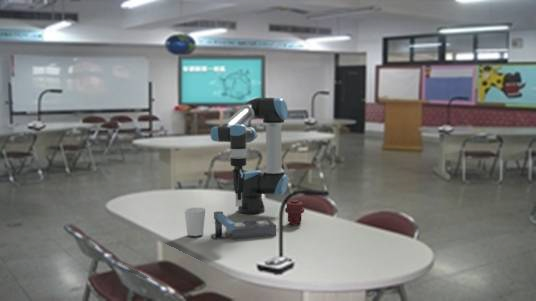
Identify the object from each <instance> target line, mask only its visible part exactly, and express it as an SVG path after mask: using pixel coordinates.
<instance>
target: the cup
mask: <svg viewBox="0 0 536 301" xmlns="http://www.w3.org/2000/svg"><path fill="white" fill-rule="evenodd" d="M205 217H206V208H203V207H198V206H197V207H189V208H186V209H184V218H185V225H186V232H187V235H188V237H190V238H192V237H193V238H198V237H203V235H204V230H205V219H206V218H205Z"/></svg>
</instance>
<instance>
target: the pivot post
mask: <svg viewBox="0 0 536 301" xmlns="http://www.w3.org/2000/svg"><path fill="white" fill-rule="evenodd" d="M214 224H215V225H214V226H215V228H214V231H215V232H214V233H213V234H210V236H211V238H212V239H213V240H220V239H221V240H224V239H227V235H226V233H225V234H224V232H223V225H222V224H221V223H220V222H219V221H218V220H215V219H214Z"/></svg>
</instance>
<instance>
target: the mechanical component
mask: <svg viewBox="0 0 536 301" xmlns="http://www.w3.org/2000/svg"><path fill="white" fill-rule="evenodd" d="M303 206H304V203H303V202H302V201H299V200H298V199H292V200H290V201H288V202H286V207H285V209H284V212H285V213H286V214H287V222H288V223H289V224H291V225H292V226H297V225H300V224H301V223H302V214H303V213H305V208H304V207H303Z"/></svg>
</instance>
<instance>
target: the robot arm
mask: <svg viewBox="0 0 536 301" xmlns="http://www.w3.org/2000/svg"><path fill="white" fill-rule="evenodd" d="M288 112H289V111H288V105H287V102H286V100H284V98H279V97H269V98H267V97H257V98H256V97H255V98H253V99H250V100H248V101H246V102H244V103H243V104H241V106H239V107H238V110H237V111H236V112H235V113H234V114H233V115H232V116H230V117H229V118H228V119H227V120H226V121H225V122H224V123H223V124H221V125H220V126H217V125H216V126H213V127H212V128H211V129H210V133H209V134H210V139H211V141H213V142H217V143H222V142H223V143H230V150H229V154H230V166H232V167H233V169H232V176H233V190H234V191H235V206H236V207H237V209H238V212H239V213H240V214H244V215H255V214H262V213H264V212H265V210H266V209H265V208H266V207H265V204H264V202H263V198H262V197H263V196H262V195H271V196H272V195H273V196H283V195H284V194H285V193H286V191H287V188H288V183H289V177H288V175H287V174H286V173H285V170H284V169H283V168H282V164H283V162H282V159H283V158H282V126H283V124H284V123H285V120H287V119H288V115H289V114H288ZM252 120H262V123H263V124H264V126H265V159H266V160H265V162H266V165H265V169H264V170H263V173H262V170H261V169H260V170H259V169H257V170H256V169H255V170H250V171H245V172H244V169H243V167H245V166H246V165H247V144H249V143H252V142H254V141H255V140H256V138H257V131H256V129H255V127H252V126H246V125H245V124H247V123H248V122H250V121H252Z"/></svg>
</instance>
